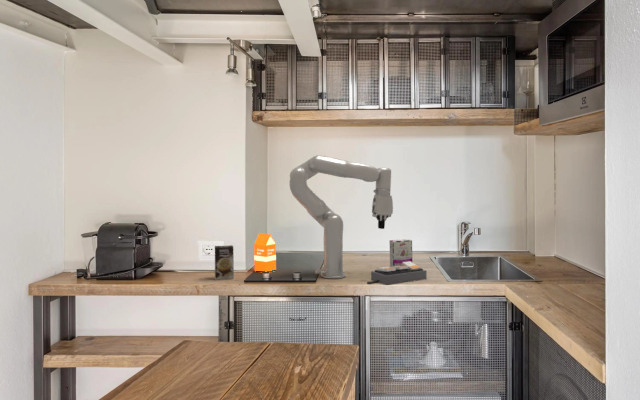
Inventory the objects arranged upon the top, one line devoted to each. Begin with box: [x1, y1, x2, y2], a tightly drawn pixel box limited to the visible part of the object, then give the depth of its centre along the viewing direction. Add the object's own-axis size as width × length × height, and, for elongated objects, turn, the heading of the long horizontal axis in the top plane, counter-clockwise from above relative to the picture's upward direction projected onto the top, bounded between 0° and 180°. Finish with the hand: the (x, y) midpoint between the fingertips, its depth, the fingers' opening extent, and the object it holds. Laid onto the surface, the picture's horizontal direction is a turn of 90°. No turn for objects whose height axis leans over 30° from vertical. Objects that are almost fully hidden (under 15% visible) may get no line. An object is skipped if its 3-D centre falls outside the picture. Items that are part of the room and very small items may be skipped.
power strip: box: [366, 267, 428, 286], centre depth 214 cm, size 30×12×5 cm, turn 118°
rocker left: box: [376, 266, 396, 272], centre depth 212 cm, size 5×8×1 cm, turn 28°
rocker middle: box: [393, 266, 408, 269], centre depth 215 cm, size 5×8×1 cm, turn 28°
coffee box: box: [214, 244, 235, 281], centre depth 222 cm, size 9×6×16 cm
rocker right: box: [402, 261, 421, 270], centre depth 219 cm, size 5×8×1 cm, turn 28°
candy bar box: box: [389, 238, 413, 267], centre depth 234 cm, size 11×5×16 cm, turn 105°
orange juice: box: [253, 233, 277, 272], centre depth 238 cm, size 8×9×20 cm
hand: (381, 228), depth 226 cm, fingers closed
